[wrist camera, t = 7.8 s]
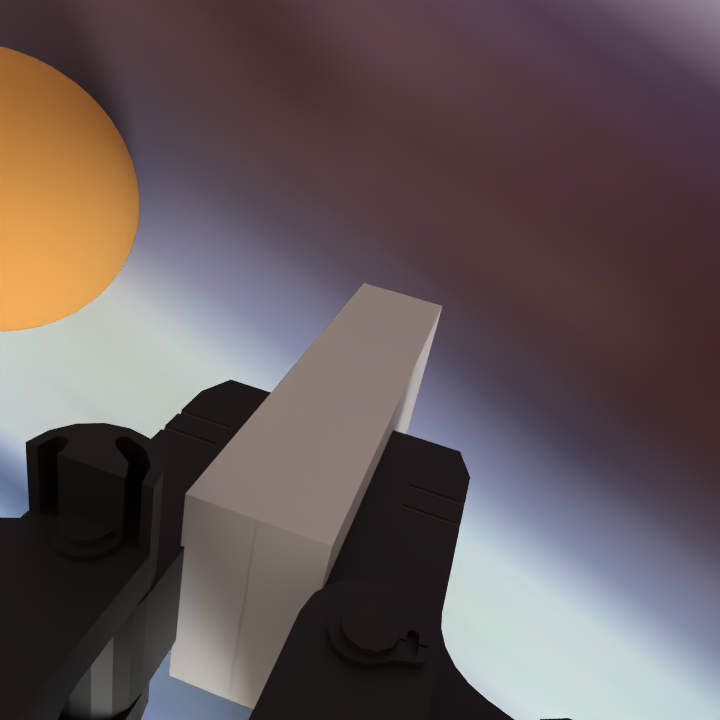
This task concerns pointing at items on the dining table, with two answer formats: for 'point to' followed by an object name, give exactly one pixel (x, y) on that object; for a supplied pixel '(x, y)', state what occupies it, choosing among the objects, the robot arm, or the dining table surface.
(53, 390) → the dining table surface
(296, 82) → the dining table surface
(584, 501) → the dining table surface
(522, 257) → the dining table surface
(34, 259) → the ball
